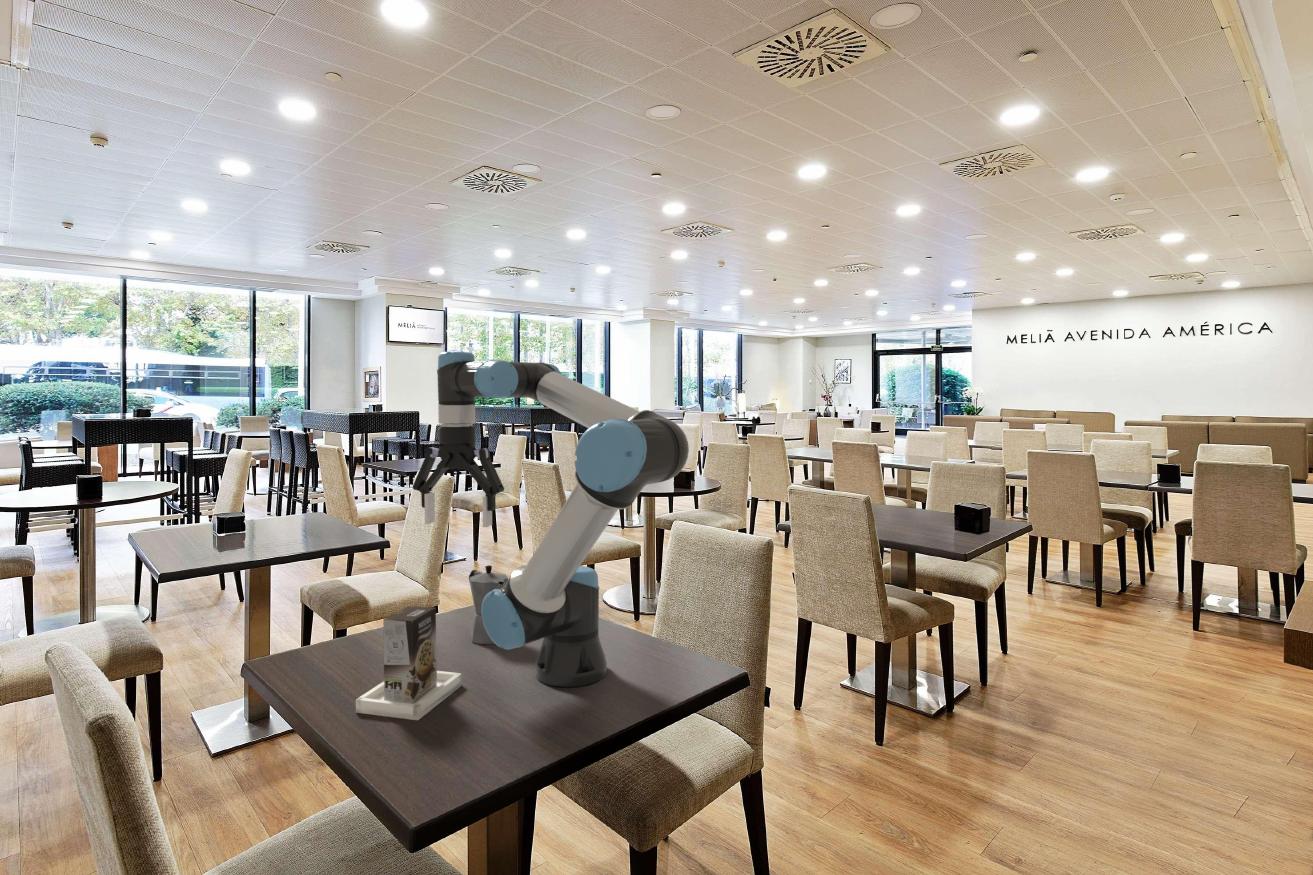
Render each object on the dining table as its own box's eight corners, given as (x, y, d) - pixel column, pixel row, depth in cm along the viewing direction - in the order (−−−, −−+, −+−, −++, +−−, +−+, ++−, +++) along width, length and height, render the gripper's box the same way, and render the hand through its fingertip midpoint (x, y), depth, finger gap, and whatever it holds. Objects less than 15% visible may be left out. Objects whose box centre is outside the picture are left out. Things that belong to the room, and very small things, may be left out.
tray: (461, 685, 144) (461, 673, 144) (417, 720, 129) (417, 707, 129) (405, 679, 148) (405, 667, 147) (355, 712, 132) (355, 699, 132)
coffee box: (413, 705, 133) (412, 621, 132) (383, 701, 134) (381, 618, 133) (438, 685, 142) (437, 606, 141) (409, 682, 143) (408, 604, 142)
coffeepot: (520, 640, 171) (520, 567, 170) (486, 650, 164) (485, 574, 163) (487, 625, 182) (486, 556, 181) (454, 633, 175) (453, 562, 174)
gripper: (519, 425, 150) (519, 524, 151) (414, 423, 156) (416, 518, 157) (503, 427, 143) (504, 530, 144) (394, 425, 149) (396, 524, 150)
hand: (458, 524), depth 151 cm, fingers open, 13 cm apart
